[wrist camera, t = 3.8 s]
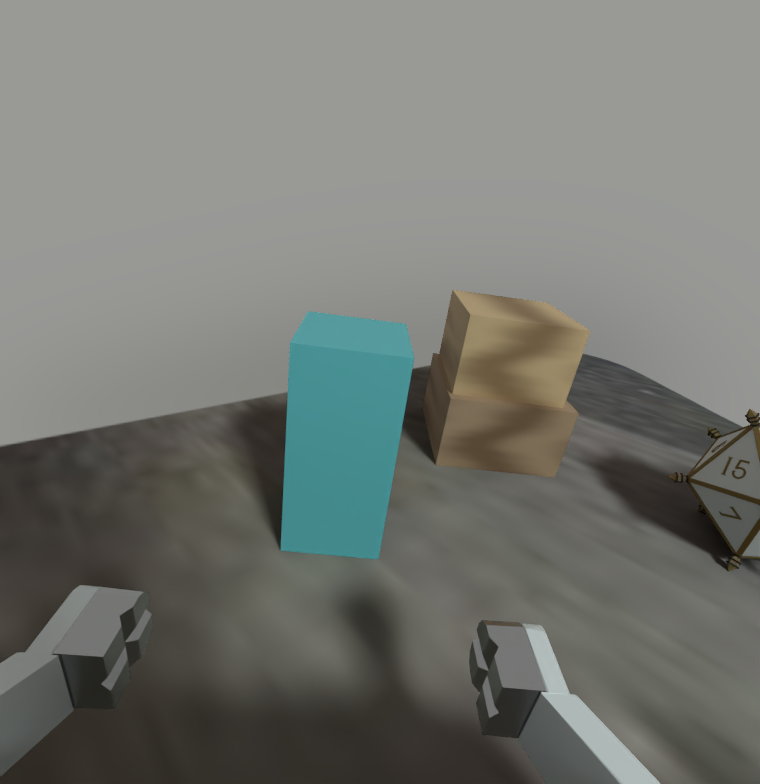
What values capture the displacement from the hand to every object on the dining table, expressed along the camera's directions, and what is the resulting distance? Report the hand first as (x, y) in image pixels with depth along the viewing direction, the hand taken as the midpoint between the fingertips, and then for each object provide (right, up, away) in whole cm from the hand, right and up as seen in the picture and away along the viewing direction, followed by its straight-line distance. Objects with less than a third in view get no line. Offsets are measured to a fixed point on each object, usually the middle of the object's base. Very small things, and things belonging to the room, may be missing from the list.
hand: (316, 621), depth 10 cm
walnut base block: (+9, +2, +21) cm, 23 cm away
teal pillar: (-1, -1, +11) cm, 11 cm away
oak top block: (+10, +7, +19) cm, 22 cm away
